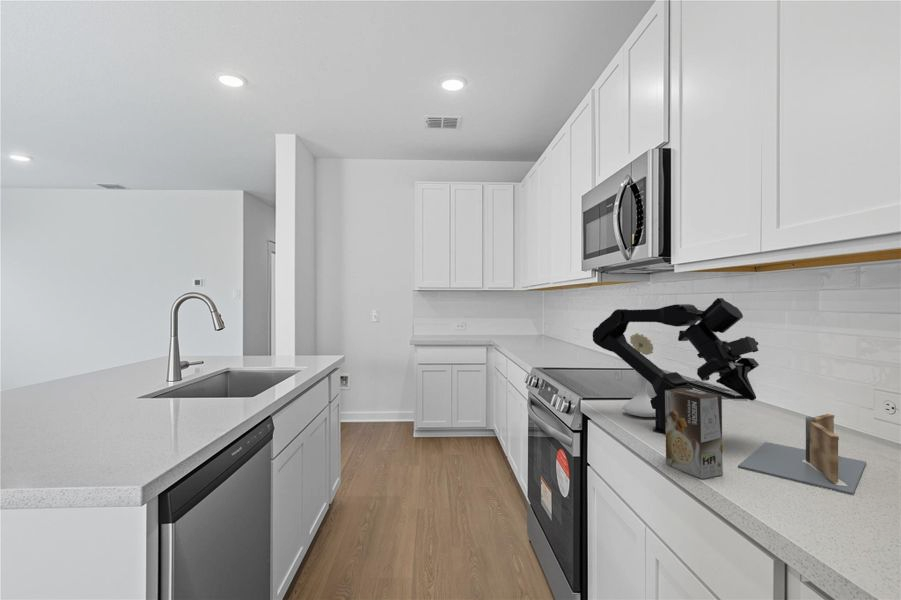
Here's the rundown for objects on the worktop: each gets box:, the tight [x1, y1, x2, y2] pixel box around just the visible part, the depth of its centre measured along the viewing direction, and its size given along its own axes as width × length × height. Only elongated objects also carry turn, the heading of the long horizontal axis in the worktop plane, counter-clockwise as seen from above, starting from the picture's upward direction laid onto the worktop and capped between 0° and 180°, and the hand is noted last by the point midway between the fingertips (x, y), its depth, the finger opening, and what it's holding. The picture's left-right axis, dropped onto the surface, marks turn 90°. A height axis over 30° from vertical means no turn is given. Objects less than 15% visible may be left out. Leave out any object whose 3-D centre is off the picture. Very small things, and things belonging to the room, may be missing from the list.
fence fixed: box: [805, 413, 835, 463], centre depth 97 cm, size 2×10×10 cm, turn 118°
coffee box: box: [665, 388, 724, 480], centre depth 92 cm, size 9×6×16 cm
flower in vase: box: [622, 332, 655, 418], centre depth 136 cm, size 13×11×25 cm
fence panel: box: [809, 422, 840, 482], centre depth 89 cm, size 11×1×9 cm, turn 158°
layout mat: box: [737, 441, 867, 496], centre depth 94 cm, size 18×23×1 cm
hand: (754, 399), depth 101 cm, fingers closed
